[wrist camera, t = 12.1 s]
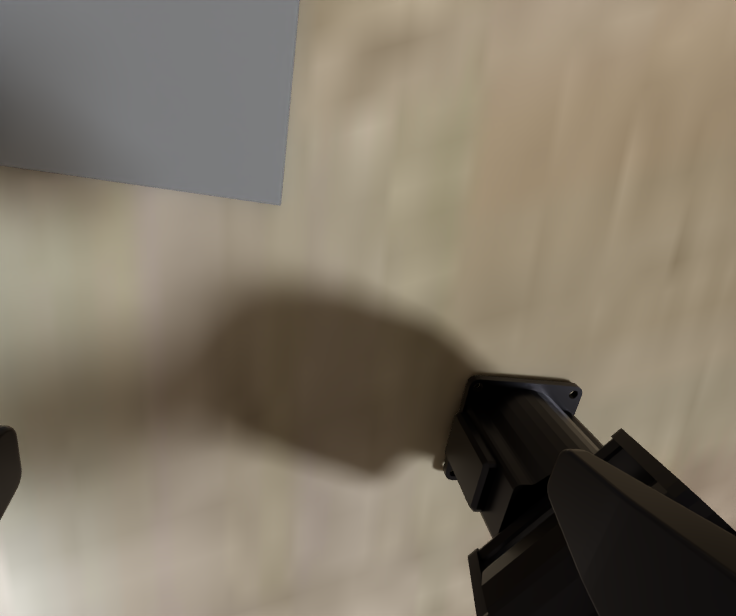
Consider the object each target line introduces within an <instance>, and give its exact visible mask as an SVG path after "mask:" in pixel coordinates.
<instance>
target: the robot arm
mask: <svg viewBox="0 0 736 616" xmlns="http://www.w3.org/2000/svg"><path fill="white" fill-rule="evenodd" d="M479 383H480V385H479V386H478V387H477V388H474V386H475V385H476V384H479ZM572 391H573V393H571V394H570V392H572ZM581 396H582V389H581V388H579V387H578V386H577V385H576V384H575V383H569V382H556V381H544V380H531V379H518V378H505V377H493V376H480V375H476V376H473V377H471V378H470V379H469V380H468V381H467V384H466V387H465V391H464V394H463V398H462V402H461V405H460V409H459V412H457V413H456V415H455V416H454V420H453V424H452V427H451V431H450V435H449V438H448V442H447V446H446V449H445V454H446V460H445V464H444V467H443V471H444V473H445V475H446V477H447V478H448V479H450V480H458V483H459V485H460V487H461V489H462V492H463V494H464V496H465V498H466V501H467V503H468V505H469V507H470V508H471V509H472V510H473V512H480V513H481V515H482V517H483V519H484V522H485V524H486V526H487V528H488V530H489V532H490V534H491V536H492V539H491V540H490V541H489V542H488V543H487V544H485V545H484V546H483V547H482V548H481V549H478V548H477V549H476V550H474V551H473V552H472V553H471V554H470V555H468V562H469V568H470V575H471V582H472V588H473V595H474V601H475V608H476V614H477V616H736V531H735V530H733V529H732V528H731V527H730V526H729V525H728V524H727V523H726V522H725V521H724V520H723V519H722V518H721V517H720V516H719V515H717V514H716V513H715V512H714V511H713V510H712V509H711V508H710V507H709V506H708V505H707V504H706V503H704V502H703V501H702V500H701V499H700V498H699V497H698V496H697V495H696V494H695V493H694V492H692V491H691V490H690V489H689V488H688V487H687V486H686V485H685V484H684V483H682V482H681V481H680V480H679V479H678V478H677V477H676V476H675V475H673V474H672V473H671V472H670V471H669V470H668V469H667V468H666V467H664V466H663V465H662V464H661V463H660V462H659V461H658V460H657V459H655V458H654V457H653V456H652V455H651V454H650V453H649V452H648V451H646V450H645V449H644V448H643V447H642V446H641V445H640V444H639V443H637V442H636V441H635V440H634V439H633V438H632V437H631V436H629V435H628V434H627V433H626V432H625V431H624V430H623V429H622V428H621V429H619V430H618V431H617V432H616V433H615V434H613V435H612V436H611V437H612V438H613V439H612V440H610V441H609V442H608V443H607V444H606V445H604V446H603V445H602V444H601V443H600V442H599V441H598V440H597V439H596V438H595V437H594V435H593V434H592V433H591V432H590V431H589V430H588V429H587V428H586V427H585V426H584V425H583V424H582V423H581V422H580V421H579V420H578V419H577V418H576V417H575V416H574V414H575V412H576V409H577V406H578V404H579V401H580V399H581ZM451 470H453V471H451ZM21 472H22V471H21V462H20V455H19V448H18V441H17V435H16V432H15V430H14V429H13V428H12V427H10V426H1V425H0V520H1V518H2V516H3V514H4V512H5V510H6V508H7V507H8V505H9V503H10V501H11V499H12V497H13V495H14V494H15V492H16V490H17V488H18V485H19V483H20V479H21Z"/></svg>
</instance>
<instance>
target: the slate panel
mask: <svg viewBox="0 0 736 616" xmlns="http://www.w3.org/2000/svg"><path fill="white" fill-rule="evenodd" d="M299 1H300V0H0V165H1V166H8V167H15V168H22V169H29V170H36V171H43V172H50V173H57V174H64V175H71V176H78V177H85V178H92V179H99V180H106V181H113V182H120V183H127V184H134V185H141V186H148V187H155V188H162V189H169V190H176V191H183V192H190V193H197V194H204V195H211V196H218V197H225V198H232V199H239V200H246V201H252V202H259V203H266V204H273V205H281V198H282V187H283V176H284V165H285V154H286V143H287V133H288V122H289V111H290V100H291V89H292V78H293V67H294V56H295V45H296V34H297V23H298V12H299Z"/></svg>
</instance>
